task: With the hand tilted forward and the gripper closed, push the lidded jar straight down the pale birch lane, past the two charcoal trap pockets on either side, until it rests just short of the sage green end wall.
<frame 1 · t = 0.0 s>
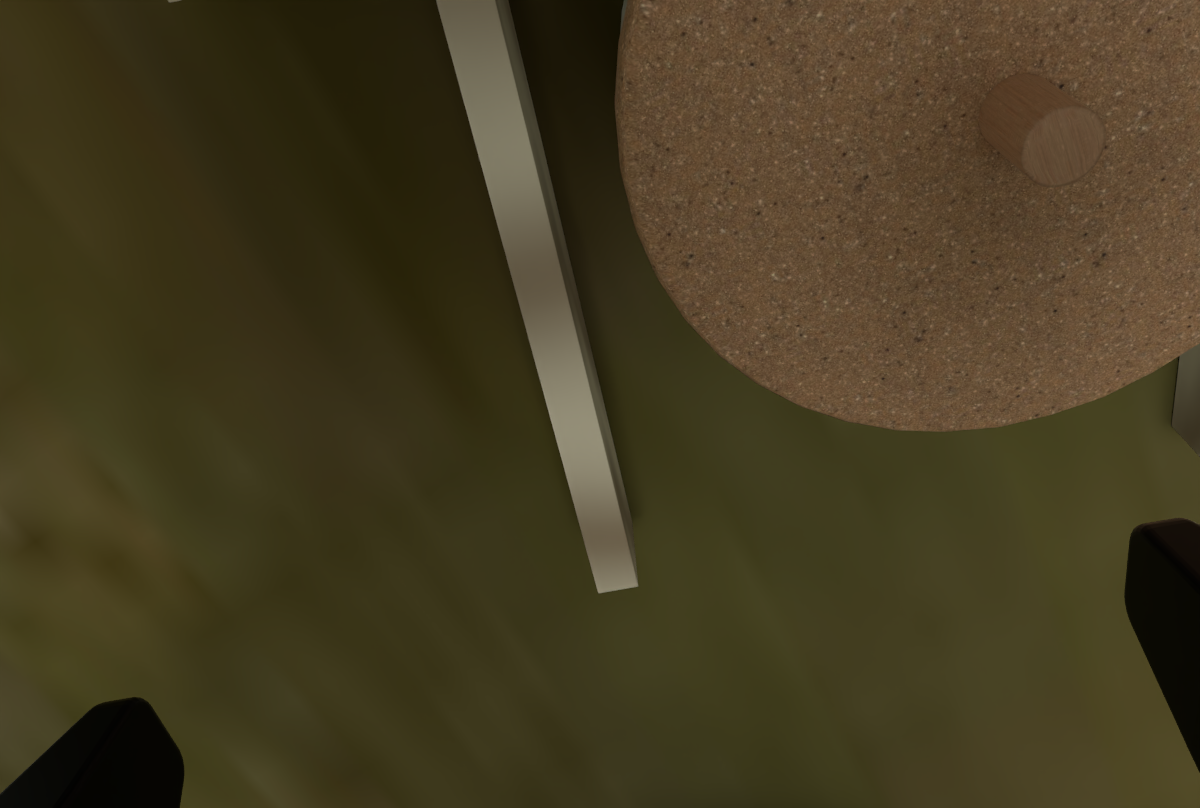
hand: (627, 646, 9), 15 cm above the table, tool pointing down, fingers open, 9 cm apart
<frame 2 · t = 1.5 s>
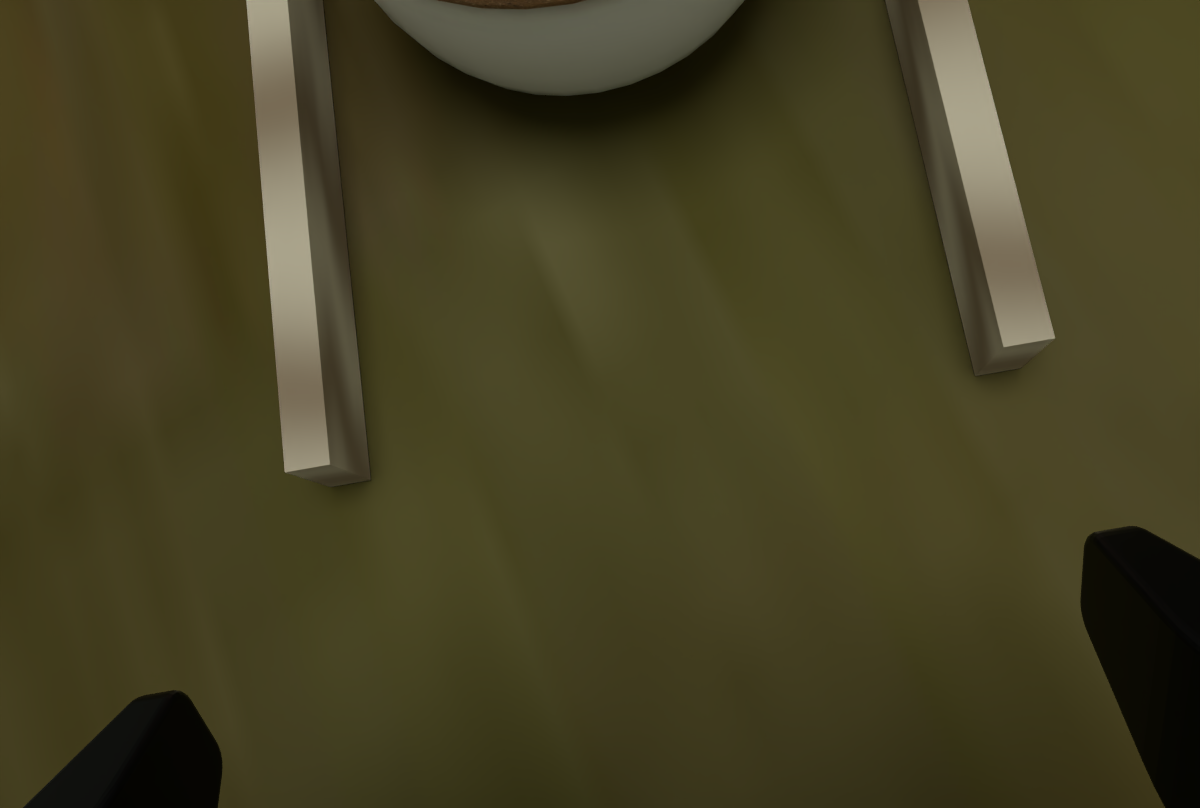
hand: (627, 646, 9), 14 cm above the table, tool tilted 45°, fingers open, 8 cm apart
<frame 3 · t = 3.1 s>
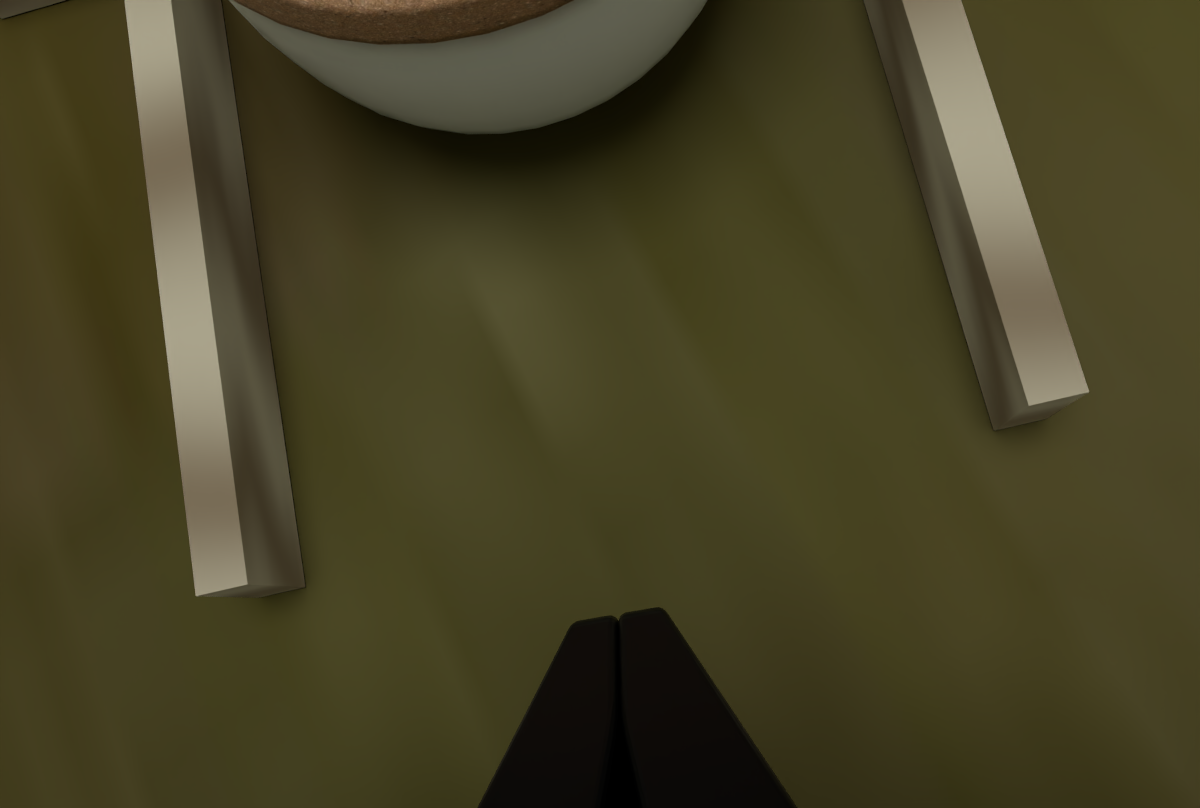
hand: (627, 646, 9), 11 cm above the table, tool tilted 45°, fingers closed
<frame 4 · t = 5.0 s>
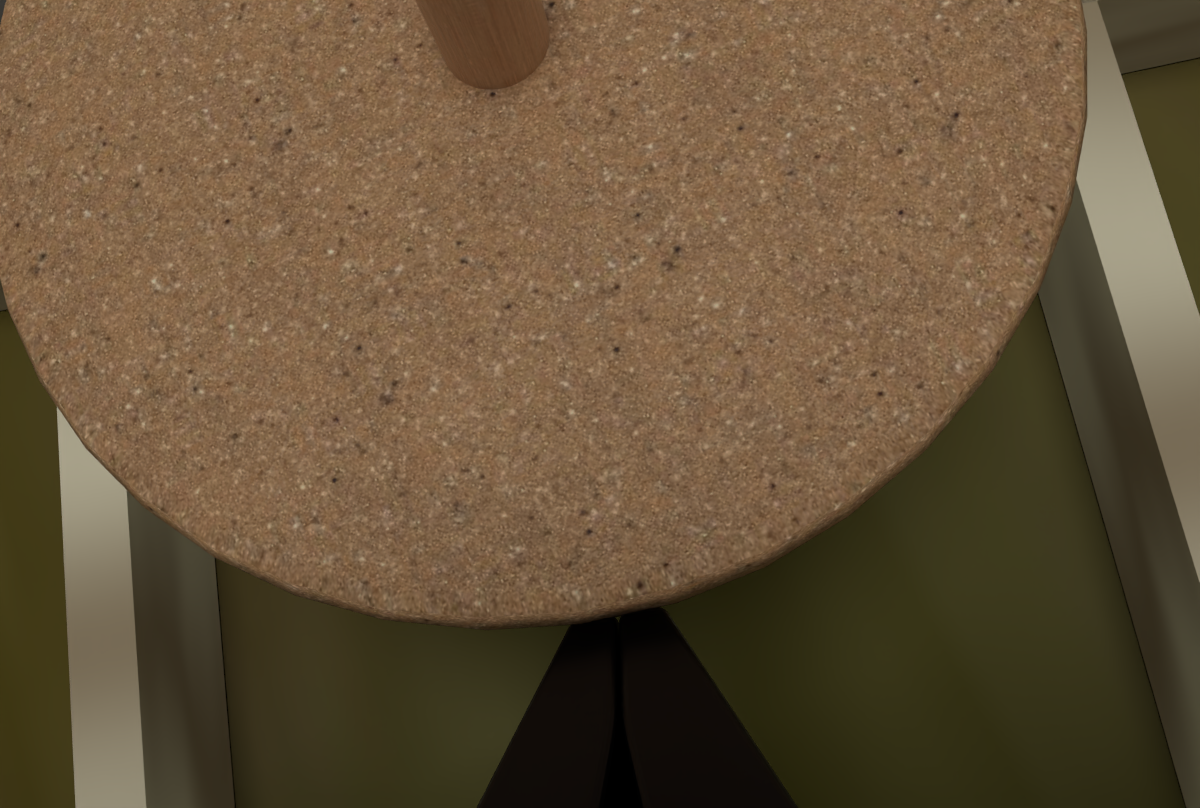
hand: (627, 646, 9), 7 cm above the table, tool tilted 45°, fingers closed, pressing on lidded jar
trap lane: (604, 353, 17), on the table
lidded jar: (598, 307, 17), resting in trap lane, touching gripper
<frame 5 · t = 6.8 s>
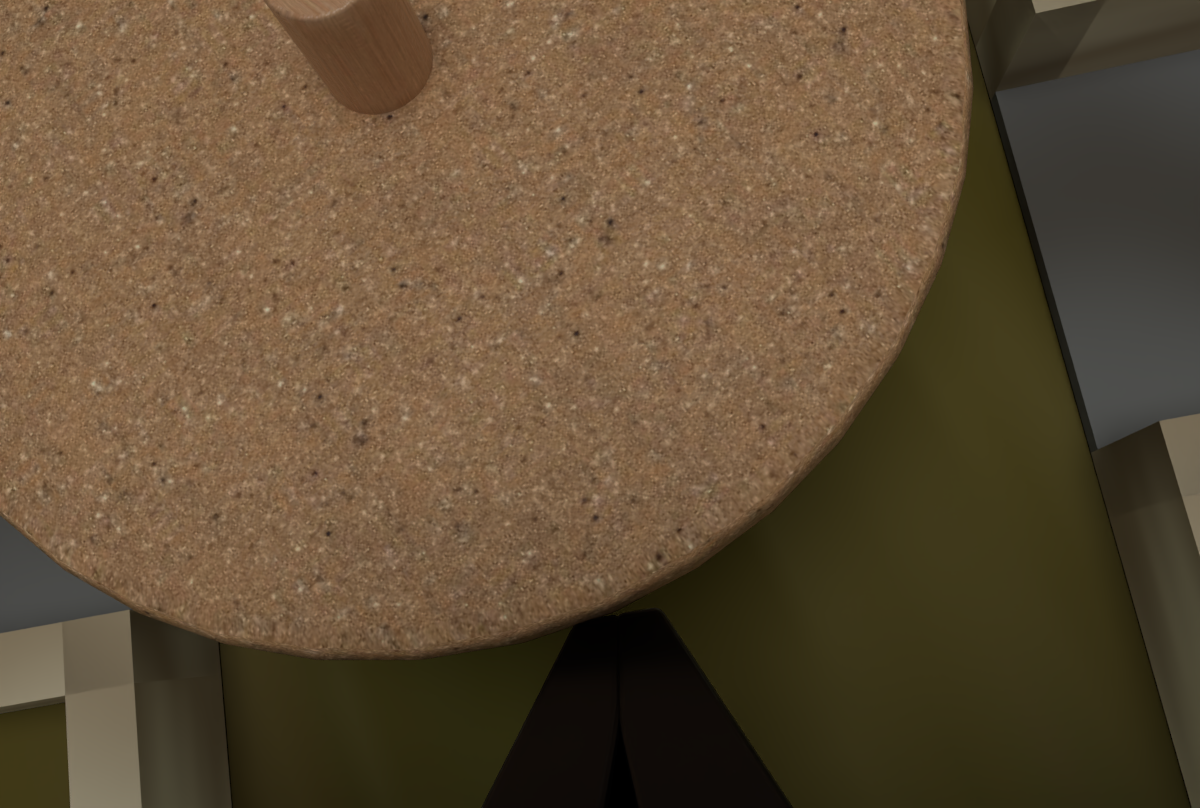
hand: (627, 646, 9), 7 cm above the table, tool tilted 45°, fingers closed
trap lane: (686, 801, 15), on the table
lidded jar: (535, 319, 17), resting in trap lane, touching gripper
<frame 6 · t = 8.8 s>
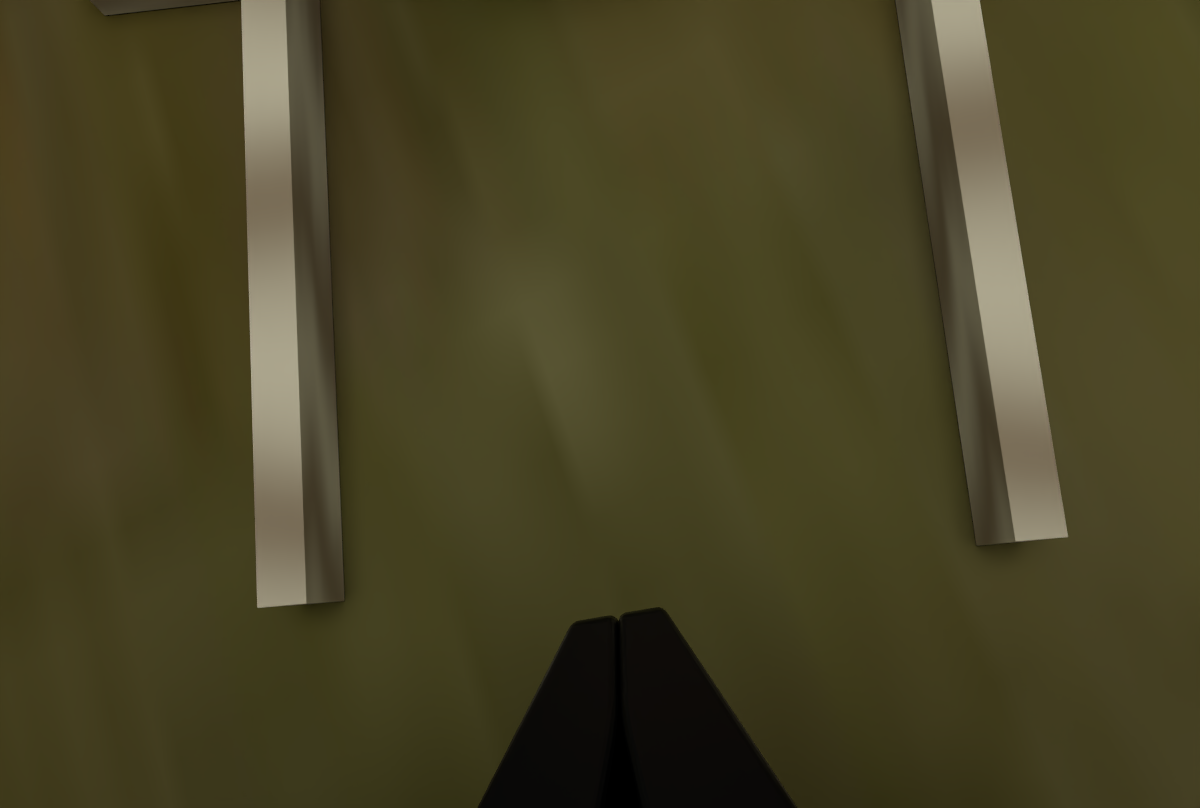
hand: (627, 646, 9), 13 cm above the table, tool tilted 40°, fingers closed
trap lane: (609, 71, 25), on the table
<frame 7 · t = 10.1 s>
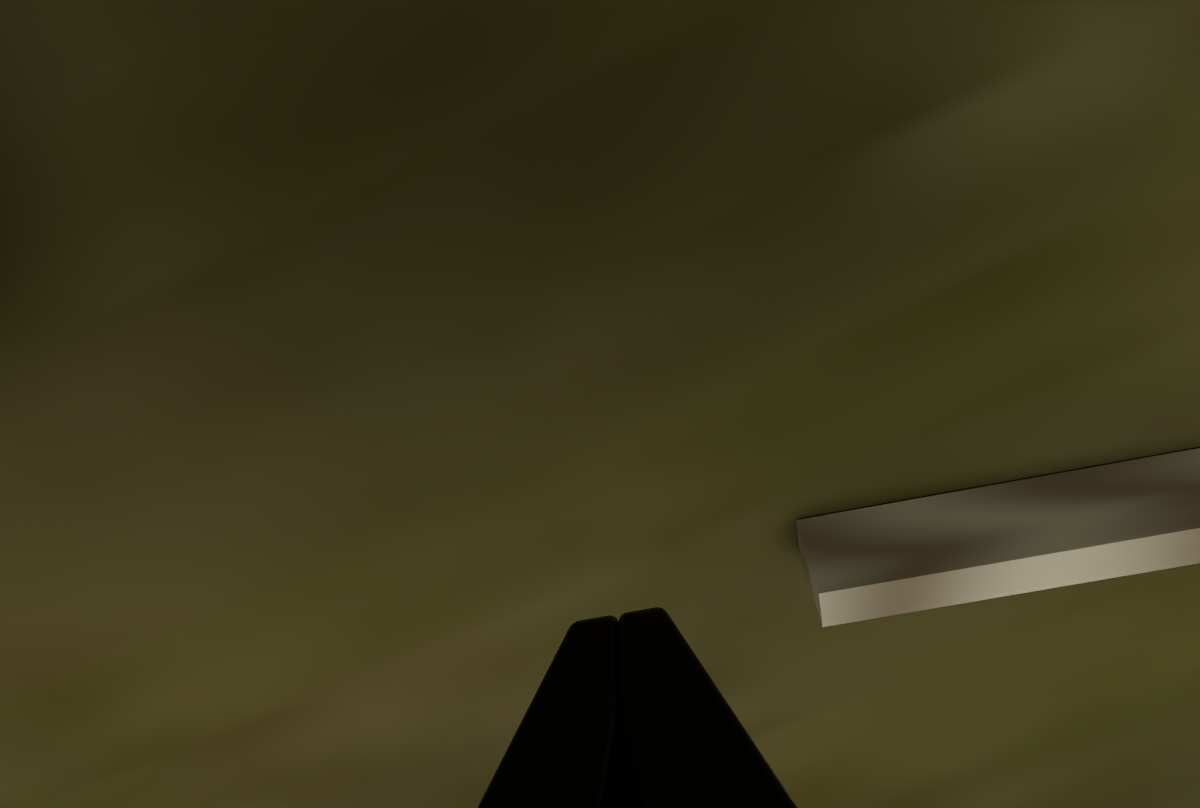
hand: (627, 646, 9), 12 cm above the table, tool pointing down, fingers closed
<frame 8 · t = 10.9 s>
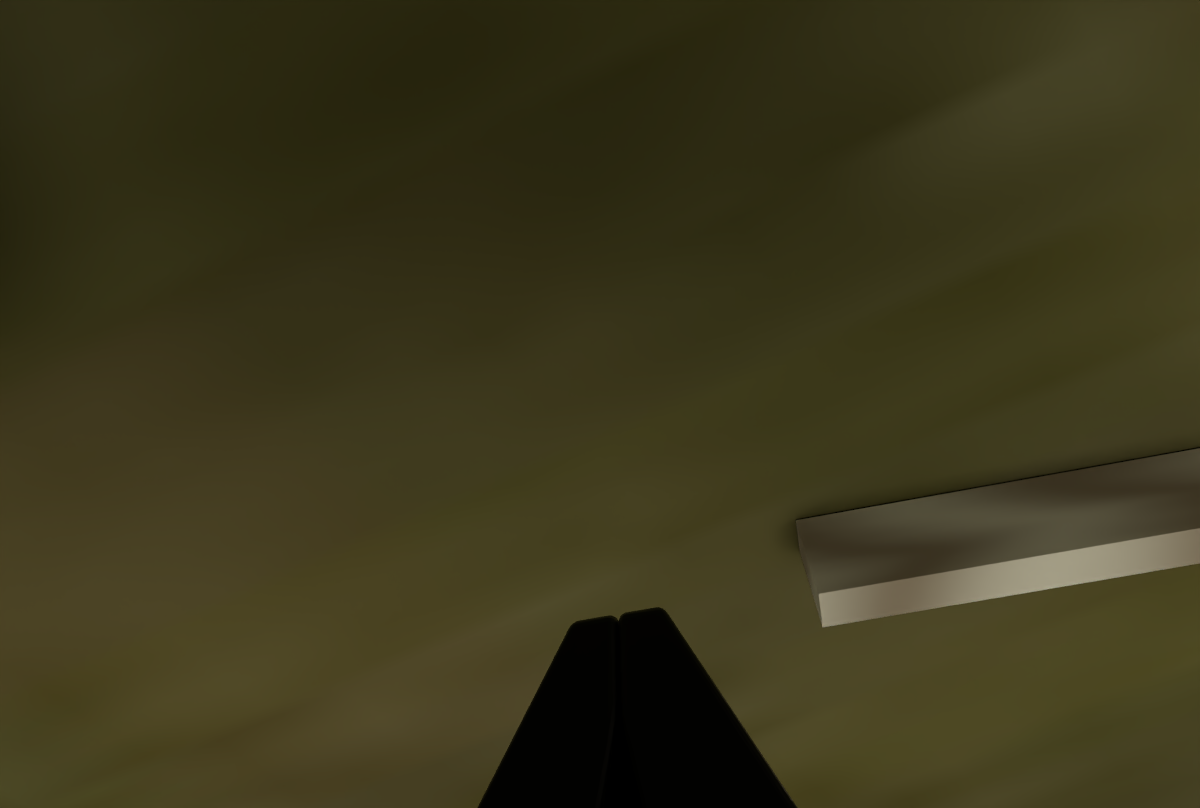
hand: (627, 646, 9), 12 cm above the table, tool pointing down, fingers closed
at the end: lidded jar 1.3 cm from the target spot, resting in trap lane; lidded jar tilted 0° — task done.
